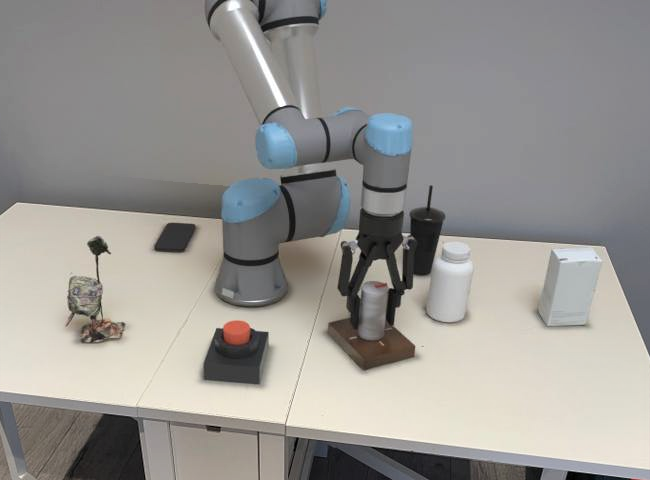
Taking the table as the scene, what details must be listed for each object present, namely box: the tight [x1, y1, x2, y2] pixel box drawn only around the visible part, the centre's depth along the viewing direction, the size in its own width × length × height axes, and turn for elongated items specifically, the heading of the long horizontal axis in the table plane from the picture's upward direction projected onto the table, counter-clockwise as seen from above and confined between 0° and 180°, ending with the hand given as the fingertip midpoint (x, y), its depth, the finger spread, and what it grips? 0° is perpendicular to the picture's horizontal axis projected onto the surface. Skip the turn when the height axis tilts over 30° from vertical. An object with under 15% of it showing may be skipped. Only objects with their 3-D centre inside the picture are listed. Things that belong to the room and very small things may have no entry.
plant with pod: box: [64, 235, 126, 343], centre depth 144 cm, size 8×11×20 cm
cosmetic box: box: [538, 246, 603, 327], centre depth 151 cm, size 8×6×15 cm
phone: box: [153, 222, 197, 253], centre depth 185 cm, size 7×1×15 cm
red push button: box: [222, 319, 251, 345], centre depth 137 cm, size 5×5×2 cm
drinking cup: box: [409, 185, 446, 277], centre depth 167 cm, size 8×8×20 cm
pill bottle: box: [426, 241, 475, 323], centre depth 152 cm, size 8×8×15 cm
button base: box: [203, 327, 270, 385], centre depth 139 cm, size 12×10×6 cm
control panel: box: [327, 317, 416, 371], centre depth 146 cm, size 14×11×3 cm
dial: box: [358, 280, 390, 341], centre depth 142 cm, size 5×5×10 cm
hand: (371, 323), depth 144 cm, fingers open, 6 cm apart
